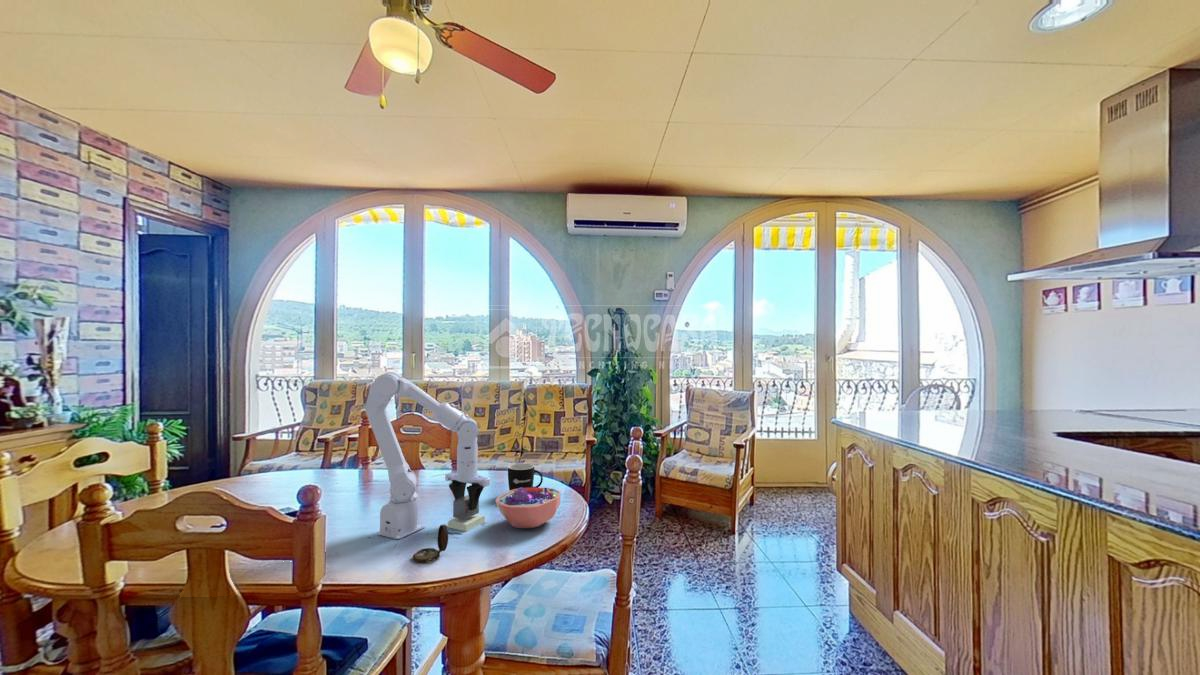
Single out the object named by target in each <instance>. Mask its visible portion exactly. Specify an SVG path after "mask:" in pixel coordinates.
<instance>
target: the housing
mask: <svg viewBox="0 0 1200 675" xmlns="http://www.w3.org/2000/svg"><path fill="white" fill-rule="evenodd" d="M452 504H453V508H452V510H453V511H452V513H453V514H452V517H453V519H454V518H460V519H467V518H469V517H471V516H473V515H475V514H478V515H479V513H480V499H479V500H478V504H477V508H476V509H475V510H472V511H471V510H470V506H469V495H468V494H467V495H464V497H462V498H459V499H457V500H455V499H454V500H453V503H452Z"/></svg>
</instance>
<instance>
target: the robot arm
mask: <svg viewBox="0 0 1200 675" xmlns="http://www.w3.org/2000/svg"><path fill="white" fill-rule="evenodd" d="M395 395H396V396H397V397H398V398H409V399H411V400H413V401H415V403H417V404H419V405H421V406H422V407H424V408H425V409H426V410H429V411H430V412H431V413H433V418H434V420H435V421H437V422H438V423H439V424H441V425H443V426H444V427H445V428H447V429H448V430H449V431H450V432H455V433H456V435H457V437H458V438H457V439H458V441H457V442H458V444H457V445H456V446H457V447H456V449H457V450H456V472H447V473H445V476H444V478H445V479H444V481H445V482H446V481H447V482H449V481H451V483H448V488H449V489H450V490H451V492H452V495H453V498H454V500H457V499H459V498H462V497H464V496H465V495H466V494H465V493H466V490H467V495H469V506H470V510H471V511H472V510H475V509H476V508H477V504H478V500H479V501H480V496H481V494H482V492H483V490H484V488H486V487H488V486H490V484H491V483H490V482H491V481H490V480H491V479H490V478H489V477H485V476H482V475H479V473H478V458H479V457H478V453H479V452H478V450H479V448H478V445H479V444H478V435H479V433H480V432H479V427H478V423H477V422H476V420H474V418H472V417H470V416H469V414H467V413H465V414H464V413H462V412H461V411H460V410H459V409H457V408H456V405H455V404H454V403H452V402H451V403H448V402H442V403H440V402H439V401H438V400H436V399H435V398H433V397H432V396H431V394H428V393H427V392H426V391H424V390H423V389H421V388H420V387H419V386H418V385H416V384H415V383H413V382H412V381H410V380H408V379H407V378H405V377H403V376H402V377H401V376H400V375H399V374H398V373H396V372H391V371H390V372H385V373H384V374H381V375H378V376H377V377H375V379H374V381H373V382H372V384H371V385H370V386H369V389H368V395H367V398H366V402H365V407H364V412H365V414H366V417H367V419H368V421H369V425H370V427H371V430H372V432H373V435H374V437H375V440H376V443H377V446H378V448H379V452H380V453H381V456H382V459H383V461H384V464H385V466H386V469H387V473H388V479H389V480H388V481H389V483H390V488H389V493H390V497H389V501H388V502H387V503H386V504H384V505H383V506H382V507H381V509H380V513H379V532H377V535H378V536H383V537H387V538H390V539H391V538H392V539H395V540H401V539H403V538H405V537H408V536H409V535H411V534H413V533H417V532H418V531H420V530H422V529H424V528H425V525H422V524H419V520H418V519H419V518H418V516H419V515H418V514H419V512H418V511H419V494H418V493H417V492H416V487H417V486H418V482H419V478H418V475H417V474H416V473H415V472H414V471H412V470H411V468H410V465H409V464H408V462H407V461H406V459H405V456H404V454H403V451H402V449H401V448H402V447H401V446H400V443H399V440H398V438H397V435H396V433H395V430H394V427H393V425H392V422H391V420H390V417H389V414H388V411H387V407H388V405H389V404H390V402H391V400H392V398H393V397H394V396H395ZM467 484H470V485H467Z"/></svg>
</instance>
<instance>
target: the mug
mask: <svg viewBox="0 0 1200 675" xmlns="http://www.w3.org/2000/svg"><path fill="white" fill-rule="evenodd" d="M535 474H539V476H540V481H539V483H538V484H537V485H536V486H534V479H535V478H534V476H535ZM543 481H544V477H543V474H542V473H541V471H539V470H537V469H535V465H534V464H532V463H525V462H518V463H513V464H510V465H508V467H507V482H508V488H509V490H508V492H509V491H510V490H513V489H518V488H520V487H522V488H540V487H541V485H542V484H543Z"/></svg>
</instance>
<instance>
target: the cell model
mask: <svg viewBox="0 0 1200 675" xmlns="http://www.w3.org/2000/svg"><path fill="white" fill-rule="evenodd" d="M561 496H562V492H561V491H559V490H557V489H554V488H553V487H550V488H549V487H538V488H522V487H520V488H518V489H513V490H510V491H509V490H508V491H506V492H505V493H504V494H501V495H499V496H498V497H497V498H495V504H496V506H497V508H498V510H499V513H501V515H502V516H503V517H504V519H505V521H506V522H508V523H509V524H510V525H511V526H512V527H515V528H517V529H532V528H533V529H534V528H537V527H540V526H542V525H544V524H545V523H547V522H548V521H550V520H552V519H553V518H554V516H555V515H556V513H557V511H558V509H559V507H560V506H561Z"/></svg>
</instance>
